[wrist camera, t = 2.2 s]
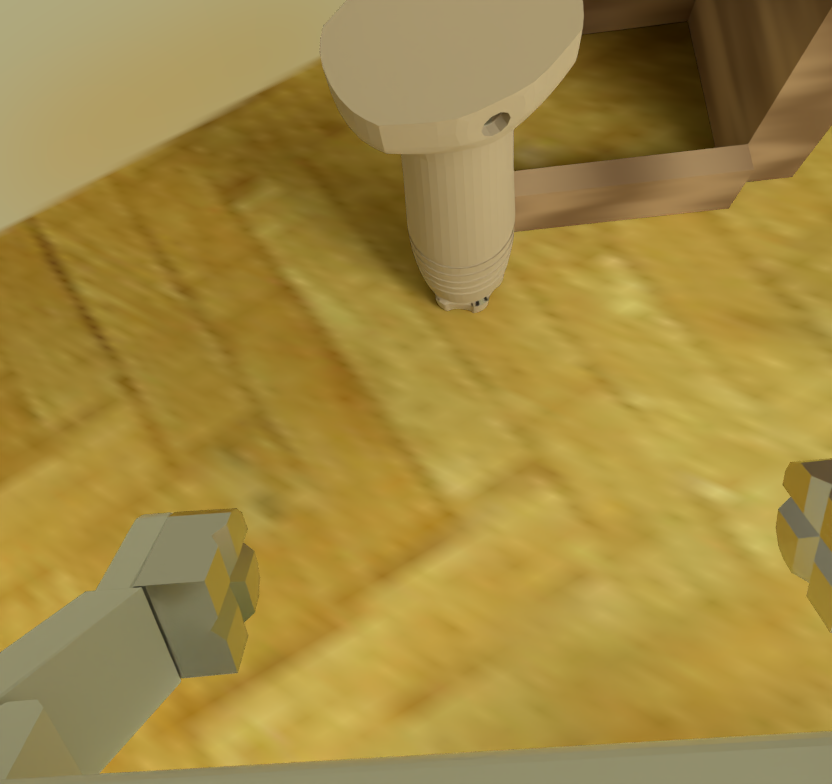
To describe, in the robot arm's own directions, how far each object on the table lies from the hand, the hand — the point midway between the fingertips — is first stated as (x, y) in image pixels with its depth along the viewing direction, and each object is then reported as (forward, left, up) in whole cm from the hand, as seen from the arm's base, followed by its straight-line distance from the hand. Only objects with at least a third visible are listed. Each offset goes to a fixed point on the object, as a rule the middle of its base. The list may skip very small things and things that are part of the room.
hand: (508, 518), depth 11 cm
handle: (0, +12, -18) cm, 22 cm away
